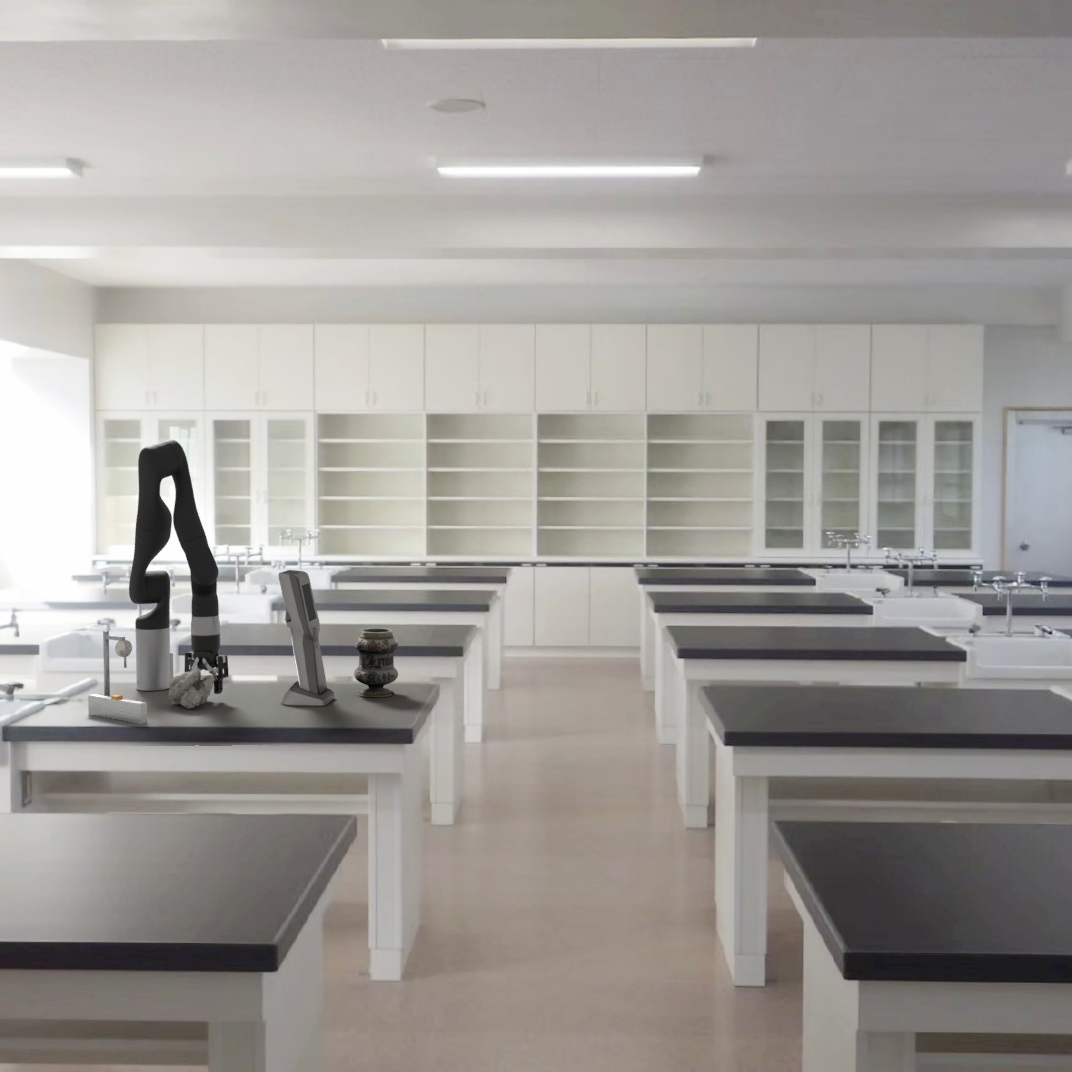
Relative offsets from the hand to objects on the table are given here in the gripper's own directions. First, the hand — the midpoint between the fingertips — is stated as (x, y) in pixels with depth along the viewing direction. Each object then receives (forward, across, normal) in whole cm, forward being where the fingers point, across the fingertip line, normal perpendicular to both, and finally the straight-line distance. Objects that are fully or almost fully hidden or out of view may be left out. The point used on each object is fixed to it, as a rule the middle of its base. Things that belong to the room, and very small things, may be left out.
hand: (206, 692), depth 341 cm
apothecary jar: (+3, -33, -31) cm, 45 cm away
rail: (+2, 0, +29) cm, 29 cm away
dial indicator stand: (+2, +15, +19) cm, 24 cm away
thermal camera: (+2, -25, -13) cm, 28 cm away
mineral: (+2, -2, +7) cm, 8 cm away
